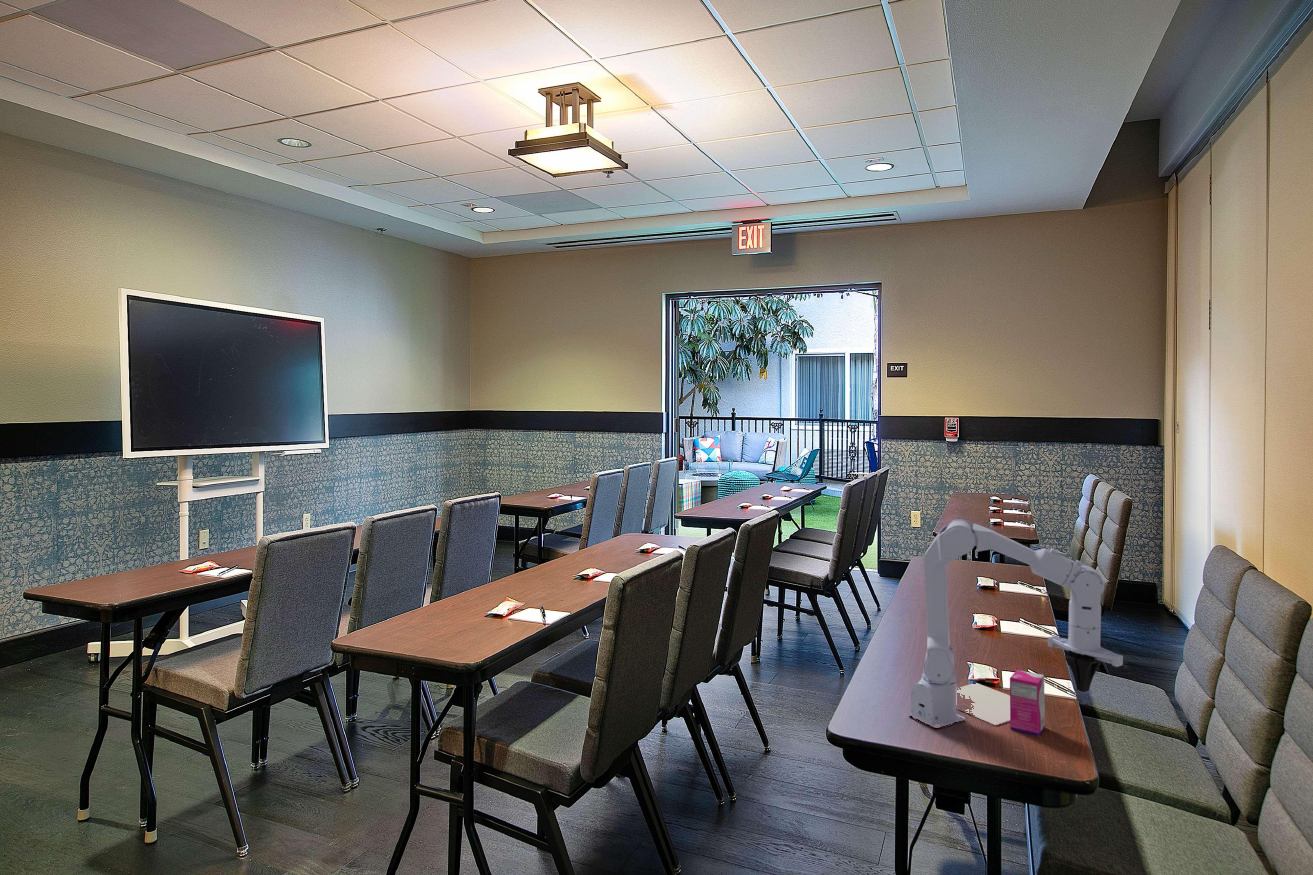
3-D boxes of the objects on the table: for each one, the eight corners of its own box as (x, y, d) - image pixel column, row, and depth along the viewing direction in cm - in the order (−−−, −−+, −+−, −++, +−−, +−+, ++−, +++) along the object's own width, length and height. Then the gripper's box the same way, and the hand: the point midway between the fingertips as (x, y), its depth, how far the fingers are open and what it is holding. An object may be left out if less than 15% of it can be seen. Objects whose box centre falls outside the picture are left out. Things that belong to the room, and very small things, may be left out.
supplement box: (1015, 720, 164) (1016, 668, 164) (1045, 727, 160) (1046, 674, 160) (1008, 729, 160) (1009, 676, 159) (1038, 736, 156) (1039, 683, 155)
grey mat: (995, 726, 161) (995, 724, 161) (928, 697, 177) (928, 696, 177) (1044, 709, 169) (1044, 708, 169) (976, 683, 185) (976, 682, 185)
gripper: (1132, 631, 149) (1130, 698, 150) (1062, 613, 162) (1061, 675, 162) (1111, 637, 146) (1110, 705, 146) (1042, 618, 158) (1040, 681, 159)
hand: (1083, 690), depth 154 cm, fingers closed
